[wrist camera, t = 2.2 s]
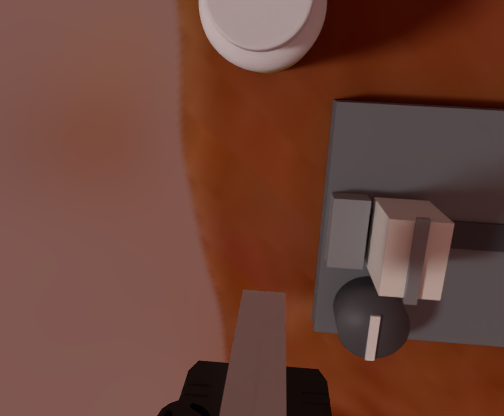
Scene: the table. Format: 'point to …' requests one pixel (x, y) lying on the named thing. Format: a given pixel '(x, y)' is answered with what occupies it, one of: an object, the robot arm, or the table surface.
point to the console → (415, 188)
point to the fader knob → (408, 249)
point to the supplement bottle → (262, 30)
